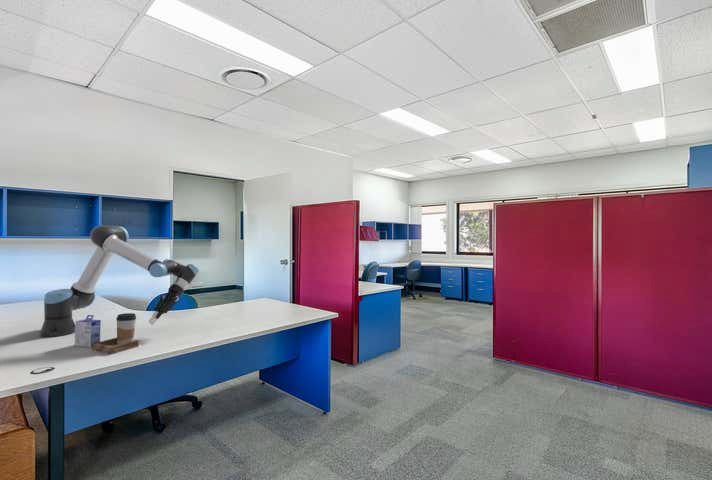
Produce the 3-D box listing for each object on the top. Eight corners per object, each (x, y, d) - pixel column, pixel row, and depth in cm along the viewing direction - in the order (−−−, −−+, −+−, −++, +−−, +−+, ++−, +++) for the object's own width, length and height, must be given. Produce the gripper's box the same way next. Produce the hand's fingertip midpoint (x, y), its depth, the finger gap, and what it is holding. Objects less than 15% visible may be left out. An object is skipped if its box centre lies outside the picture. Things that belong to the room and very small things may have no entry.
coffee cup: (139, 344, 178) (140, 313, 178) (123, 348, 170) (125, 316, 170) (126, 342, 180) (127, 312, 180) (110, 346, 172) (112, 315, 172)
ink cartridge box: (101, 344, 176) (101, 315, 176) (90, 347, 171) (91, 317, 171) (84, 342, 178) (84, 314, 178) (74, 346, 173) (74, 316, 173)
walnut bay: (91, 350, 167) (91, 343, 167) (119, 342, 179) (119, 336, 179) (111, 354, 162) (111, 347, 162) (138, 346, 174) (138, 340, 174)
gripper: (190, 292, 202) (163, 328, 187) (174, 290, 207) (146, 325, 192) (182, 284, 197) (154, 320, 182) (166, 282, 202) (137, 317, 187)
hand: (150, 323), depth 187 cm, fingers closed
